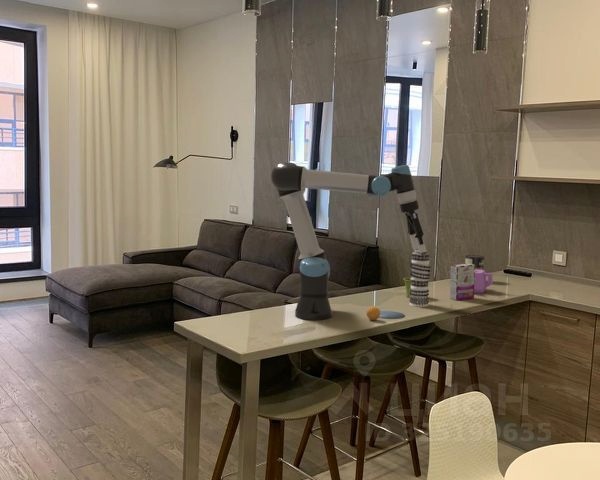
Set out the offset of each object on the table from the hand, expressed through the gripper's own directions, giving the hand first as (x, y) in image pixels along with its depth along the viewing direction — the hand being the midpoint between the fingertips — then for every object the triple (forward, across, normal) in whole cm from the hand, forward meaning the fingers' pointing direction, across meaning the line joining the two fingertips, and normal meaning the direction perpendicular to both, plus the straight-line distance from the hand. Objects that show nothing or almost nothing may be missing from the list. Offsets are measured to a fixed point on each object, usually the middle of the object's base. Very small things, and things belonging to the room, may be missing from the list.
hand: (419, 250), depth 258 cm
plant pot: (+26, +34, +2) cm, 43 cm away
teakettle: (+34, +52, -29) cm, 69 cm away
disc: (+22, -5, +20) cm, 30 cm away
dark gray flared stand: (+36, +81, -39) cm, 97 cm away
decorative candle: (+26, +16, +3) cm, 31 cm away
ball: (+18, -14, +26) cm, 35 cm away
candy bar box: (+32, +31, -20) cm, 49 cm away
